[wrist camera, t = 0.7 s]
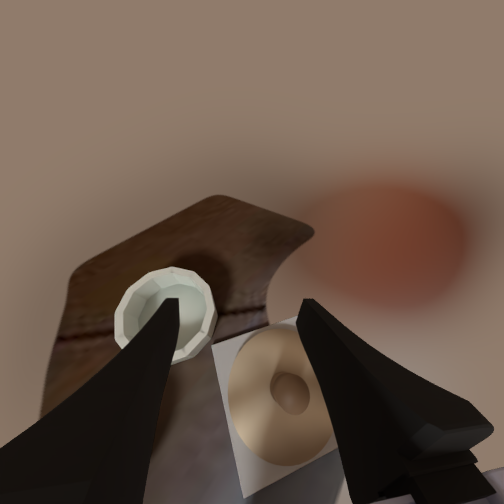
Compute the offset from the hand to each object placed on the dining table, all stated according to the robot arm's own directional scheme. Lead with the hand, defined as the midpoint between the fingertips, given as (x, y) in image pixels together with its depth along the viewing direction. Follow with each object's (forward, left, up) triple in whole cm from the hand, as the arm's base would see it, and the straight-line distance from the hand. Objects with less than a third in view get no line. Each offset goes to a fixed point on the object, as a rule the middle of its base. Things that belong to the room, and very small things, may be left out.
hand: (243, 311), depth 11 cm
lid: (-7, -3, -14) cm, 16 cm away
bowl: (+4, +7, -15) cm, 17 cm away
